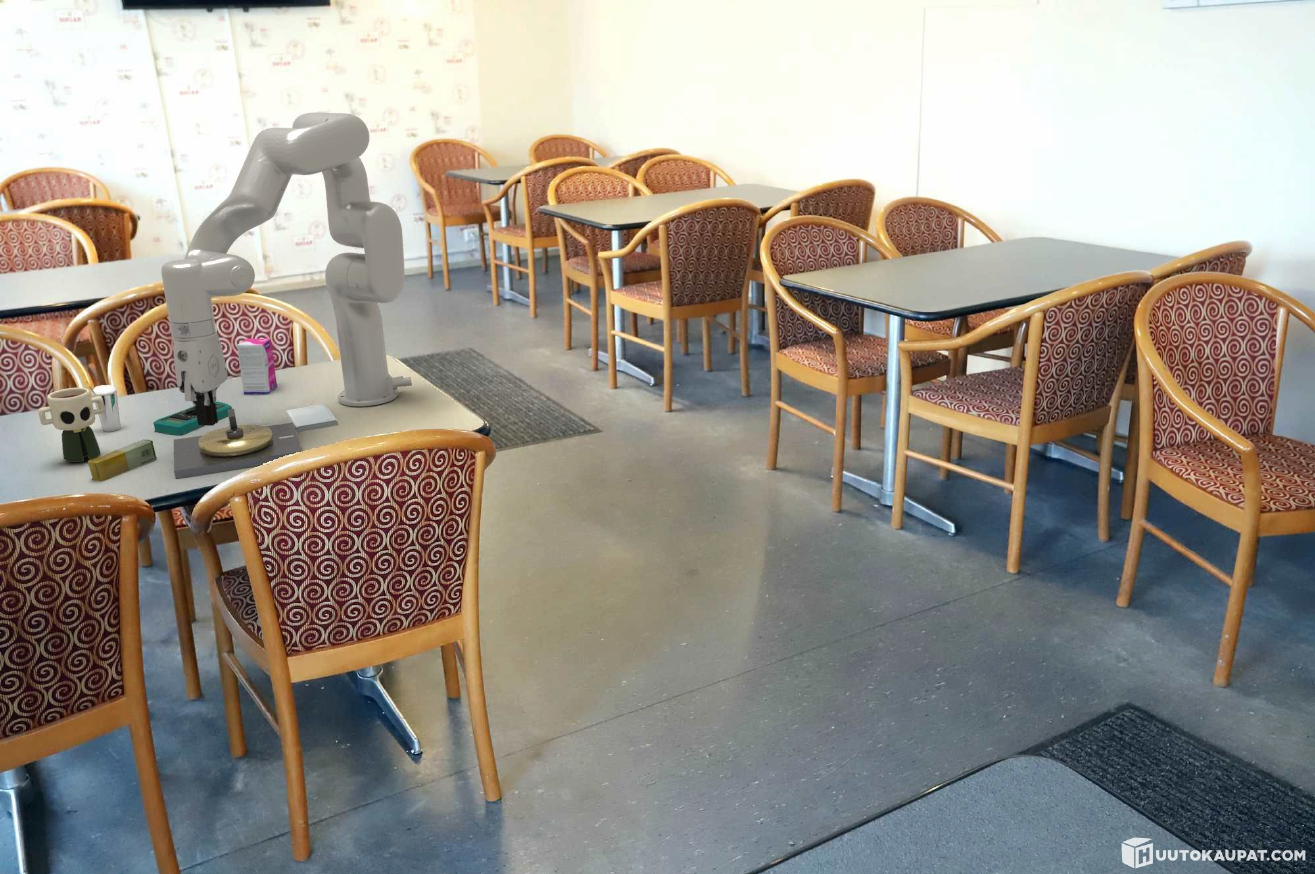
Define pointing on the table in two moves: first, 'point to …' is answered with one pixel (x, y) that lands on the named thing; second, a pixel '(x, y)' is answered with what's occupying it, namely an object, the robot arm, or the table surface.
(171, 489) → the table surface
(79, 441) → the character mug
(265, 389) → the supplement box
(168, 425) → the digital multimeter
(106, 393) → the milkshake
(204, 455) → the base plate
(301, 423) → the hard drive
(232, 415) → the dial
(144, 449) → the medication box
